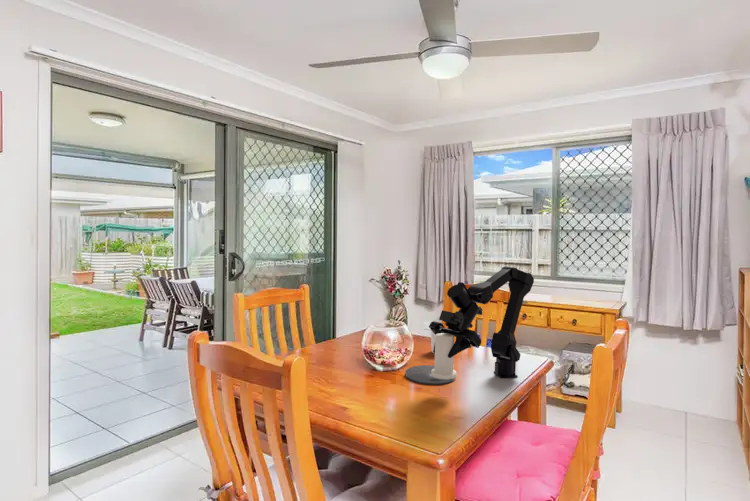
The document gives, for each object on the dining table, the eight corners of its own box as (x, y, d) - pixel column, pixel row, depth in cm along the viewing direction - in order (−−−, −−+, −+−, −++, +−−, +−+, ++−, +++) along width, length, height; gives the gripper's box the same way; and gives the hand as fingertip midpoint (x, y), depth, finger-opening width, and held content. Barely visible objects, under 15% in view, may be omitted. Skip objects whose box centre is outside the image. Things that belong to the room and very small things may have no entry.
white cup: (449, 354, 190) (450, 331, 189) (431, 354, 190) (431, 331, 190) (447, 349, 198) (447, 327, 197) (429, 349, 198) (429, 327, 197)
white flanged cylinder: (451, 370, 148) (451, 332, 148) (460, 378, 140) (461, 338, 140) (428, 371, 147) (428, 332, 146) (436, 380, 139) (436, 338, 138)
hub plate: (445, 367, 172) (445, 364, 172) (463, 383, 155) (463, 379, 155) (400, 369, 169) (400, 366, 169) (413, 386, 151) (413, 382, 151)
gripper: (433, 297, 152) (408, 334, 146) (476, 305, 138) (451, 346, 131) (448, 317, 157) (425, 353, 151) (491, 327, 143) (468, 367, 136)
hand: (441, 354), depth 142 cm, fingers closed on white flanged cylinder, 6 cm apart
